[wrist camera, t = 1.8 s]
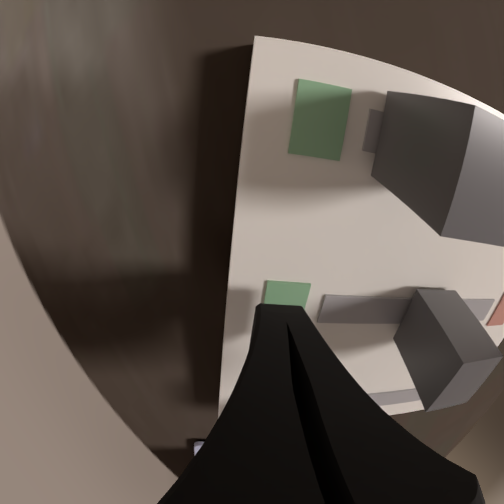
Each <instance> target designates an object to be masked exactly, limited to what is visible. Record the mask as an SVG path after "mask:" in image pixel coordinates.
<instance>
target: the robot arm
mask: <svg viewBox="0 0 504 504" xmlns="http://www.w3.org/2000/svg"><path fill="white" fill-rule="evenodd" d="M157 504H485V500H484V497H483V494H482V491H481V488H480V485H479V483H478V480H477V477H476V475H475V474H473V473H471V472H469V471H467V470H465V469H464V468H462V467H460V466H458V465H456V464H454V463H453V462H451V461H449V460H447V459H446V458H444V457H442V456H441V455H439V454H438V453H436V452H435V451H433V450H432V449H431V448H429V447H428V446H426V445H425V444H423V443H422V442H421V441H419V440H418V439H417V438H415V437H414V436H413V435H412V434H410V433H409V432H408V431H407V430H406V429H404V428H403V427H402V426H401V425H399V424H398V423H397V422H396V421H395V420H393V419H392V418H391V417H390V416H389V415H388V414H387V413H386V412H385V411H384V410H383V409H382V408H381V407H380V406H379V405H378V404H377V403H376V402H375V401H374V400H373V399H372V398H371V397H370V396H369V395H368V394H367V393H366V392H365V391H364V390H363V388H362V387H361V386H360V385H359V384H358V383H357V382H356V380H355V379H354V378H353V377H352V376H351V374H350V373H349V372H348V371H347V369H346V368H345V367H344V366H343V364H342V363H341V362H340V360H339V359H338V358H337V356H336V355H335V354H334V352H333V351H332V350H331V348H330V347H329V346H328V344H327V343H326V341H325V340H324V338H323V337H322V336H321V334H320V333H319V331H318V330H317V328H316V327H315V325H314V324H313V322H312V321H311V319H310V318H309V316H308V314H307V313H306V311H305V310H304V308H303V307H302V306H297V305H279V304H264V303H260V304H258V305H257V306H256V307H255V314H254V320H253V326H252V333H251V339H250V345H249V351H248V354H247V357H246V360H245V363H244V365H243V368H242V370H241V373H240V375H239V378H238V380H237V382H236V385H235V387H234V389H233V391H232V393H231V395H230V397H229V399H228V401H227V403H226V405H225V407H224V409H223V411H222V413H221V415H220V416H219V418H218V420H217V422H216V423H215V425H214V427H213V429H212V430H211V432H210V434H209V435H208V437H207V438H206V440H205V442H203V441H198V442H195V443H194V458H193V459H192V460H191V462H190V463H189V465H188V466H187V468H186V469H185V470H184V472H183V473H182V474H181V476H180V477H179V478H178V480H177V481H176V482H175V483H174V484H173V486H172V487H171V488H170V489H169V490H168V492H167V493H166V494H165V495H164V496H163V497H162V499H161V500H160V501H159V502H158V503H157Z"/></svg>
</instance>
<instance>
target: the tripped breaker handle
mask: <svg viewBox="0 0 504 504" xmlns="http://www.w3.org/2000/svg"><path fill="white" fill-rule="evenodd" d="M393 340H394V342H395V344H396V346H397V348H398V350H399V352H400V354H401V357H402V359H403V361H404V363H405V365H406V367H407V370H408V372H409V374H410V376H411V379H412V381H413V383H414V385H415V388H416V390H417V392H418V395H419V397H420V400H421V402H422V404H423V407H424V409H425V412H428V411H433V410H437V409H442V408H446V407H450V406H455V405H459V404H462V403H466V402H467V401H468V400H469V399H470V398H471V397H472V395H473V394H474V393H475V392H476V391H477V389H478V388H479V387H480V386H481V385H482V383H483V382H484V381H485V380H486V378H487V377H488V376H489V374H490V373H491V372H492V371H493V369H494V368H495V367H496V365H497V364H498V363H499V361H500V360H501V358H502V357H503V355H502V354H501V352H500V351H499V349H498V348H497V346H496V345H495V343H494V342H493V340H492V339H491V337H490V336H489V335H488V333H487V332H486V330H485V329H484V327H483V326H482V325H481V323H480V322H479V321H478V319H477V318H476V316H475V315H474V314H473V312H472V311H471V310H470V308H469V307H468V306H467V305H466V303H465V302H464V301H463V299H462V298H461V297H460V296H459V294H458V293H457V292H456V290H429V289H416V291H415V294H414V296H413V298H412V300H411V302H410V305H409V307H408V309H407V311H406V313H405V315H404V317H403V319H402V321H401V323H400V325H399V327H398V329H397V331H396V333H395V335H394V337H393Z"/></svg>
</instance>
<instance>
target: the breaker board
mask: <svg viewBox="0 0 504 504" xmlns="http://www.w3.org/2000/svg"><path fill="white" fill-rule="evenodd" d="M416 289H429V290H456V292H457V293H458V294H459V296H460V297H461V298H462V299H463V301H464V302H465V303H466V305H467V306H468V307H469V308H470V310H471V311H472V312H473V314H474V315H475V316H476V318H477V319H478V321H479V322H480V323H481V325H482V326H483V327H484V329H485V330H486V332H487V333H488V335H489V336H490V337H491V339H492V340H493V342H494V343H495V345H496V346H497V347H498V345H499V344H500V342H501V341H502V339H503V338H504V114H502V113H500V112H499V111H497V110H495V109H493V108H491V107H489V106H488V105H486V104H484V103H482V102H480V101H478V100H476V99H474V98H472V97H470V96H468V95H466V94H463V93H461V92H459V91H457V90H455V89H453V88H450V87H448V86H446V85H443V84H441V83H439V82H436V81H434V80H431V79H429V78H426V77H424V76H421V75H419V74H416V73H413V72H410V71H408V70H405V69H402V68H399V67H396V66H393V65H390V64H387V63H384V62H380V61H377V60H374V59H370V58H367V57H363V56H360V55H356V54H352V53H348V52H344V51H340V50H336V49H332V48H327V47H322V46H318V45H313V44H307V43H302V42H296V41H290V40H284V39H277V38H269V37H261V36H255V38H254V42H253V49H252V57H251V65H250V73H249V81H248V90H247V98H246V107H245V115H244V124H243V133H242V142H241V151H240V161H239V170H238V180H237V190H236V200H235V210H234V220H233V231H232V241H231V252H230V263H229V274H228V286H227V298H226V310H225V322H224V335H223V348H222V362H221V375H220V390H219V407H218V418H219V416H220V415H221V413H222V411H223V409H224V407H225V405H226V403H227V401H228V399H229V397H230V395H231V393H232V391H233V389H234V387H235V385H236V382H237V380H238V378H239V375H240V373H241V370H242V368H243V365H244V363H245V360H246V357H247V354H248V351H249V345H250V339H251V333H252V326H253V320H254V314H255V307H256V306H257V305H258V304H260V303H264V304H279V305H297V306H302V307H303V308H304V310H305V311H306V313H307V314H308V316H309V318H310V319H311V321H312V322H313V324H314V325H315V327H316V328H317V330H318V331H319V333H320V334H321V336H322V337H323V338H324V340H325V341H326V343H327V344H328V346H329V347H330V348H331V350H332V351H333V352H334V354H335V355H336V356H337V358H338V359H339V360H340V362H341V363H342V364H343V366H344V367H345V368H346V369H347V371H348V372H349V373H350V374H351V376H352V377H353V378H354V379H355V380H356V382H357V383H358V384H359V385H360V386H361V387H362V388H363V390H364V391H365V392H366V393H367V394H368V395H369V396H370V397H371V398H372V399H373V400H374V401H375V402H376V403H377V404H378V405H379V406H380V407H381V408H382V409H383V410H384V411H385V412H386V413H387V414H388V415H394V414H400V413H407V412H412V411H418V410H423V409H424V407H423V404H422V402H421V400H420V397H419V395H418V392H417V390H416V388H415V385H414V383H413V381H412V379H411V376H410V374H409V372H408V370H407V367H406V365H405V363H404V361H403V359H402V357H401V354H400V352H399V350H398V348H397V346H396V344H395V342H394V340H393V337H394V335H395V333H396V331H397V329H398V327H399V325H400V323H401V321H402V319H403V317H404V315H405V313H406V311H407V309H408V307H409V305H410V302H411V300H412V298H413V296H414V294H415V291H416Z"/></svg>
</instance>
